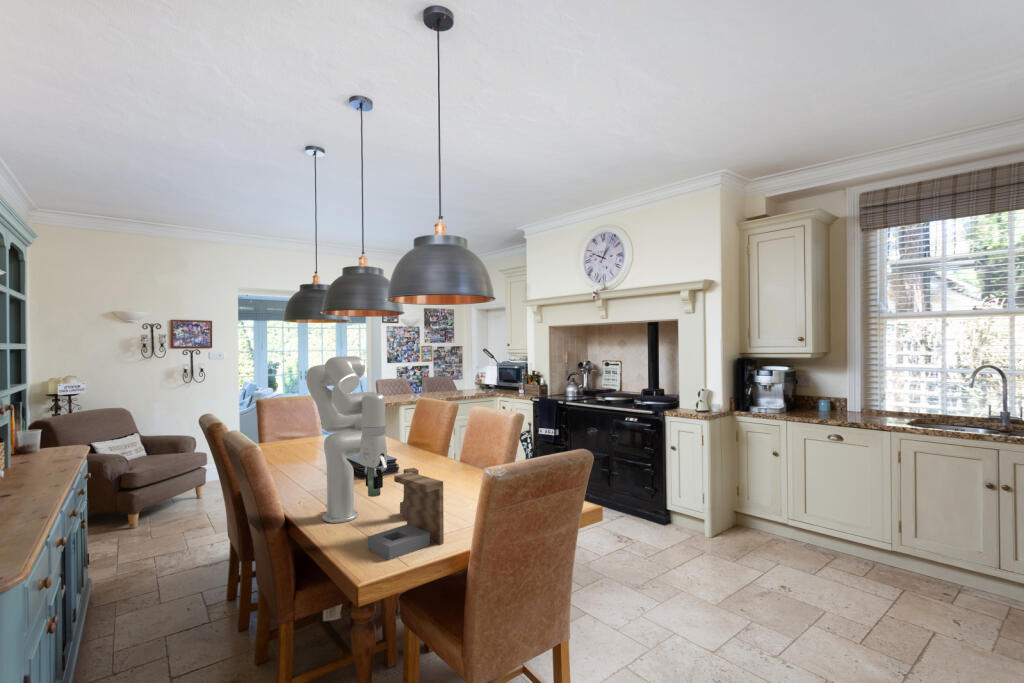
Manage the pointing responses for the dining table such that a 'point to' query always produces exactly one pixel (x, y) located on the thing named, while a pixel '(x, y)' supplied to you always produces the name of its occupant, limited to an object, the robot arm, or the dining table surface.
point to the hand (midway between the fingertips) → (374, 486)
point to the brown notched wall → (424, 504)
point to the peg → (371, 490)
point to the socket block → (398, 541)
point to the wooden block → (404, 504)
